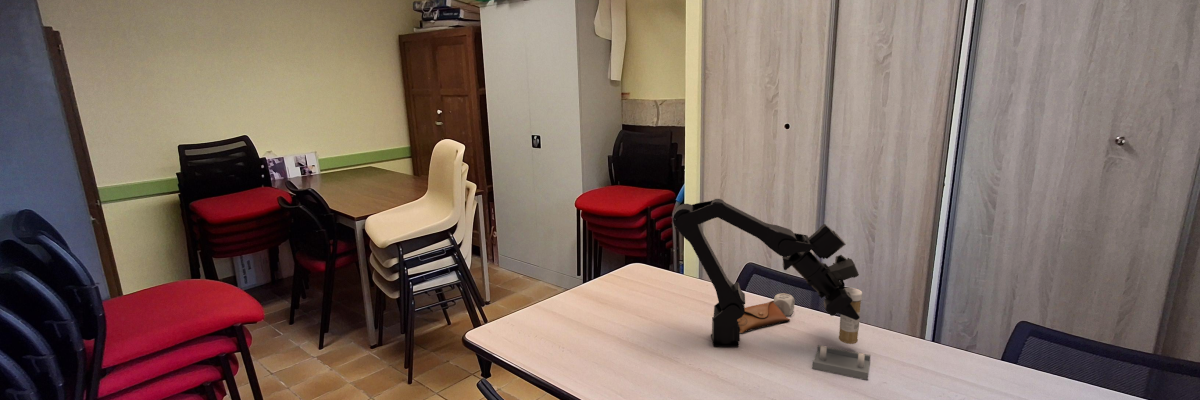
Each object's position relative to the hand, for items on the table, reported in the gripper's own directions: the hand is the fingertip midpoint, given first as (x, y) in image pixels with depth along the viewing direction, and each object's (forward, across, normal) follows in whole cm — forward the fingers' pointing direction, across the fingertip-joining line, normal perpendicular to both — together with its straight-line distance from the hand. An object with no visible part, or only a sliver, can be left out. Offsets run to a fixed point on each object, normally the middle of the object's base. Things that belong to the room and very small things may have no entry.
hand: (856, 314), depth 140 cm
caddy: (+4, -8, +10) cm, 13 cm away
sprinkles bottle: (+4, 0, +6) cm, 7 cm away
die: (-3, +21, +18) cm, 28 cm away
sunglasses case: (-9, +13, +24) cm, 28 cm away
